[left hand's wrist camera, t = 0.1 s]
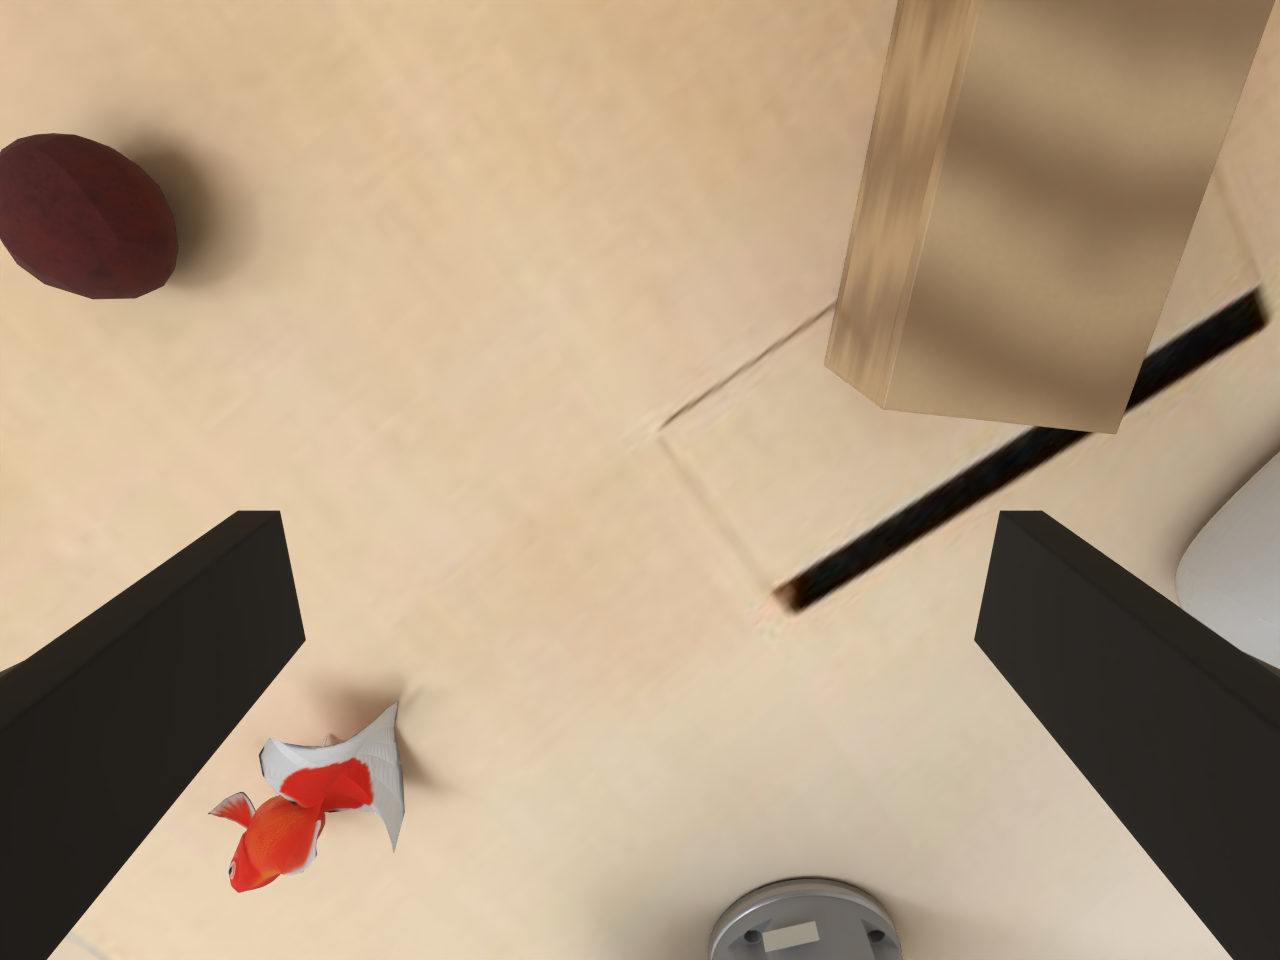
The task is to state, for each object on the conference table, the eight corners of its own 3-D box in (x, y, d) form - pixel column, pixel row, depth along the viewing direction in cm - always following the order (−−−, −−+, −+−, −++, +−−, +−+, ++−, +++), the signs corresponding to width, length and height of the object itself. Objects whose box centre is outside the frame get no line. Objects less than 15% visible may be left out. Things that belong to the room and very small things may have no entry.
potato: (129, 113, 35) (9, 85, 28) (239, 246, 37) (152, 250, 30) (34, 199, 36) (-102, 193, 29) (146, 323, 38) (43, 342, 32)
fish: (138, 785, 44) (131, 918, 36) (347, 627, 48) (380, 718, 40) (257, 848, 50) (272, 973, 43) (432, 705, 54) (475, 796, 46)
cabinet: (908, -55, 32) (1021, -174, 23) (1124, -26, 33) (1323, -131, 23) (823, 365, 39) (882, 409, 30) (1001, 385, 40) (1116, 434, 30)
